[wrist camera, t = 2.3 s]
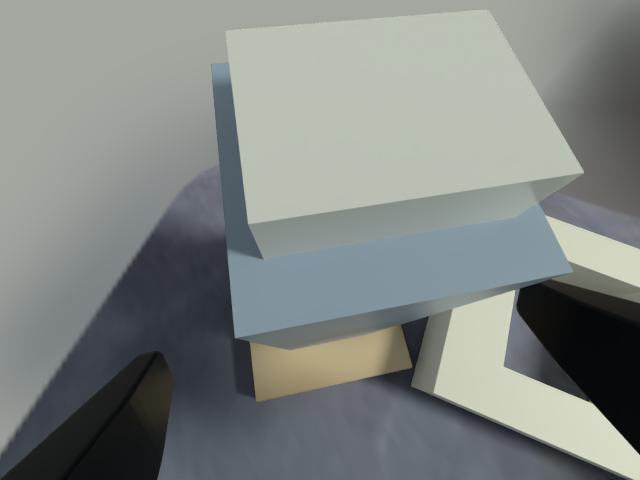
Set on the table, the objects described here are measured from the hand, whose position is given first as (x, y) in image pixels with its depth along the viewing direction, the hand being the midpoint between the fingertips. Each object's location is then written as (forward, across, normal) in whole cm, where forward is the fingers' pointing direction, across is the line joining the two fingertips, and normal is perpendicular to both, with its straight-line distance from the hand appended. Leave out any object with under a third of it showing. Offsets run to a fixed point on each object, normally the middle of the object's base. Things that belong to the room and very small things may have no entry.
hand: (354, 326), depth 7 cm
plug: (+8, 0, +5) cm, 9 cm away
